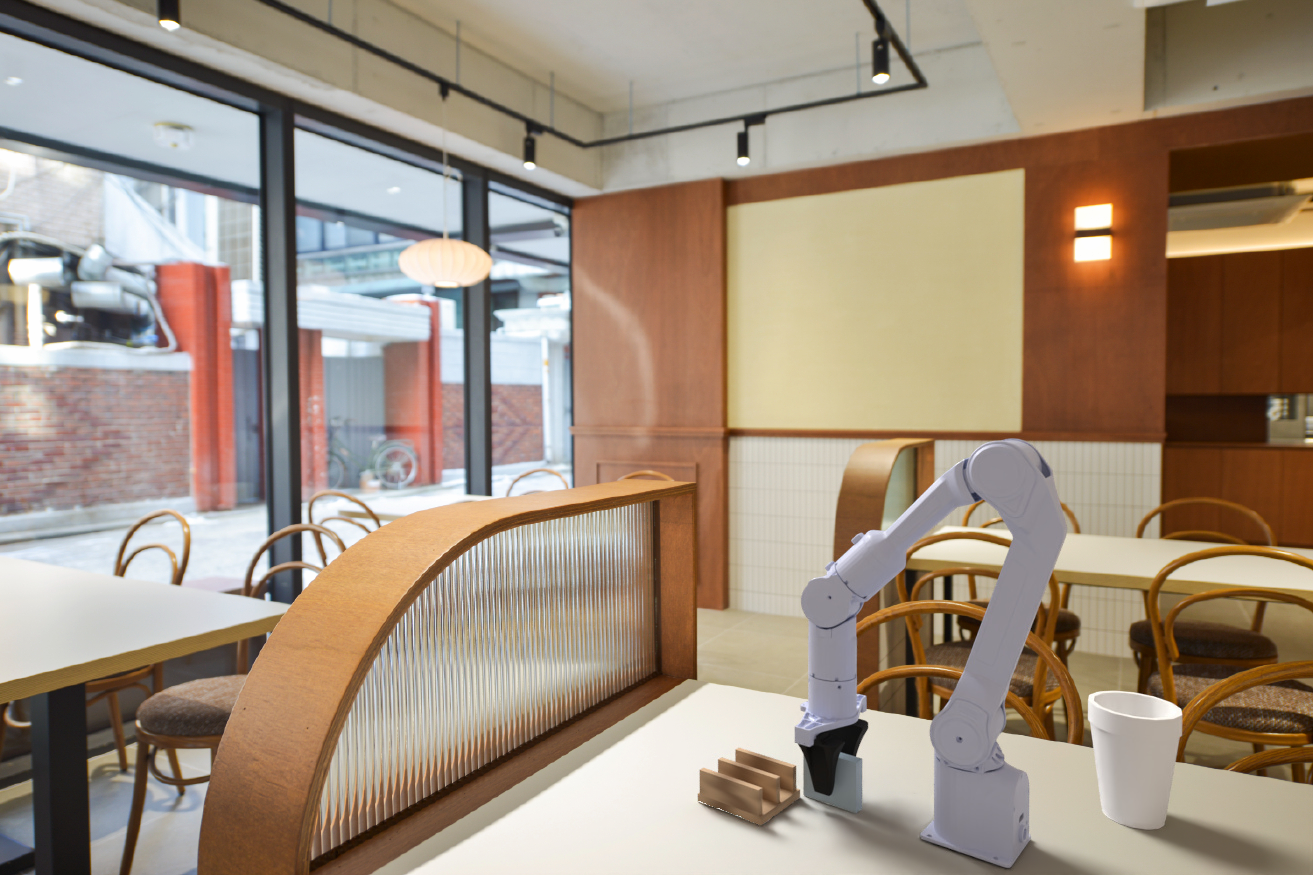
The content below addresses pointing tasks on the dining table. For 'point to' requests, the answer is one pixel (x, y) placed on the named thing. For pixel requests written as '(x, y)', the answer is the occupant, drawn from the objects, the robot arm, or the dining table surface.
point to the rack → (750, 786)
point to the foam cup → (1134, 755)
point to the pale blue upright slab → (840, 784)
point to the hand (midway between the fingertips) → (832, 785)
